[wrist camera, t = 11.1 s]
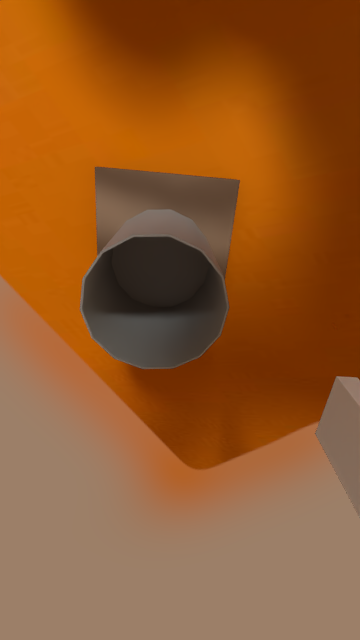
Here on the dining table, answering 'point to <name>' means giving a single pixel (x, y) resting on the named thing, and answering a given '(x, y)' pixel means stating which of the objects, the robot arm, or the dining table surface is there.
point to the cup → (155, 292)
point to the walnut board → (167, 203)
